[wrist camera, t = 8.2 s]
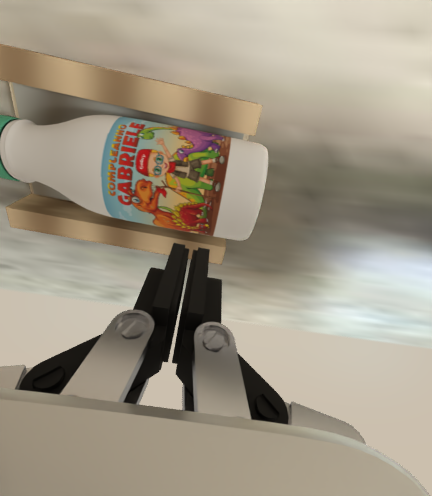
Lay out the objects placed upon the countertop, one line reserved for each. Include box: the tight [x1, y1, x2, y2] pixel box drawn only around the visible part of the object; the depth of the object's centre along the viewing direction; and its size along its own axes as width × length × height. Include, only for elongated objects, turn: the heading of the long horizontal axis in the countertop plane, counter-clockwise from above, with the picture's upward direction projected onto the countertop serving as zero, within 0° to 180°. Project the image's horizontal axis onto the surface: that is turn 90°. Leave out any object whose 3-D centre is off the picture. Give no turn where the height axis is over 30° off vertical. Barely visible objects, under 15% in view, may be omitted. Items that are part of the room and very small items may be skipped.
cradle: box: [0, 44, 262, 265], centre depth 22 cm, size 20×14×4 cm
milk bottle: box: [0, 115, 268, 241], centre depth 20 cm, size 8×8×20 cm
